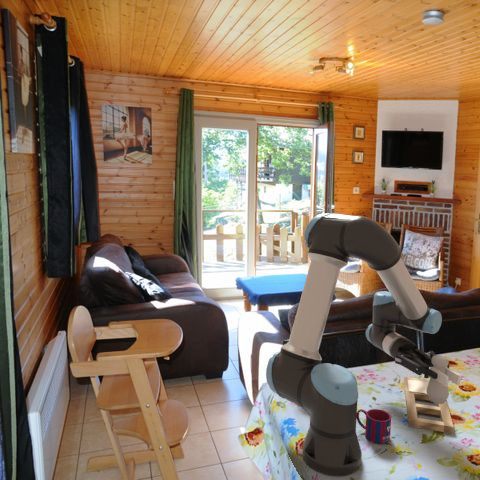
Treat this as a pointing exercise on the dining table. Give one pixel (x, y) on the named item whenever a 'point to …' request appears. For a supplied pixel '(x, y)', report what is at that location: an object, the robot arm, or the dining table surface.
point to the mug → (376, 425)
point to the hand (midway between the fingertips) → (453, 380)
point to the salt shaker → (435, 388)
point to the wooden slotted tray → (425, 408)
